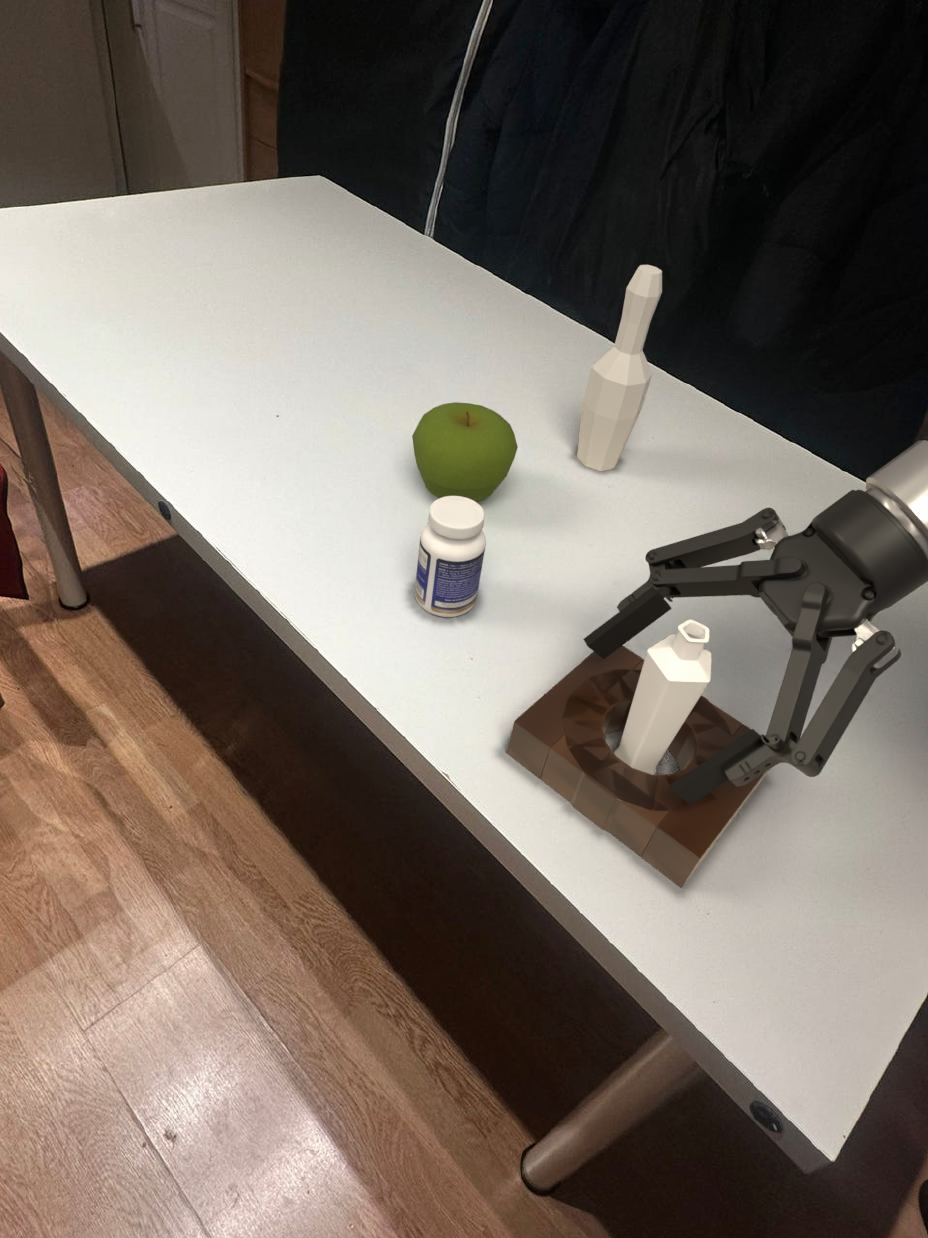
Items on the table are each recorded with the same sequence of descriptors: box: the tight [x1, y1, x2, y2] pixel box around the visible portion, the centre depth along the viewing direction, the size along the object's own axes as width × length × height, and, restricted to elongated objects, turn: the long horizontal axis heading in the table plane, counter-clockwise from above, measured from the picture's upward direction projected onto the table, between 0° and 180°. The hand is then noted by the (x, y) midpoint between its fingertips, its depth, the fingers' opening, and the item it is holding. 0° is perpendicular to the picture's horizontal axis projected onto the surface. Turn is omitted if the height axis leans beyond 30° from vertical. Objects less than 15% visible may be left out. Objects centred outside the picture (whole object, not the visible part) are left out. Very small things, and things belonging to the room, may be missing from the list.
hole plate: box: [505, 645, 771, 889], centre depth 63 cm, size 16×13×4 cm
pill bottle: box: [414, 496, 487, 618], centre depth 72 cm, size 6×6×10 cm
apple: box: [411, 401, 519, 502], centre depth 84 cm, size 11×10×10 cm
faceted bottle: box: [576, 264, 663, 472], centre depth 88 cm, size 6×6×22 cm
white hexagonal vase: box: [613, 619, 712, 775], centre depth 59 cm, size 5×4×15 cm
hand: (633, 717), depth 59 cm, fingers open, 13 cm apart
